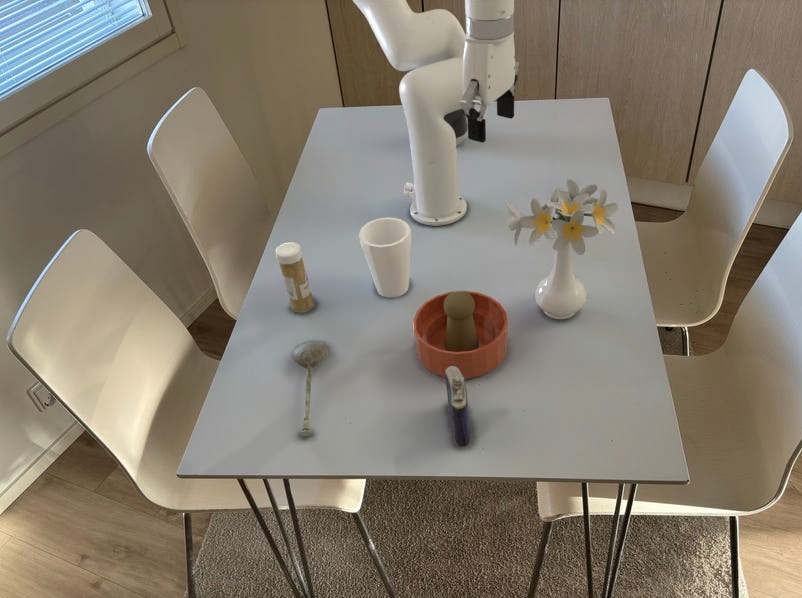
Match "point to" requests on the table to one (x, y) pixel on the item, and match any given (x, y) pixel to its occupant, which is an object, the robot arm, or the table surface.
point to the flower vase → (564, 242)
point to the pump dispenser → (457, 124)
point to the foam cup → (387, 254)
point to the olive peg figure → (460, 322)
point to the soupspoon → (309, 371)
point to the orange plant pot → (470, 363)
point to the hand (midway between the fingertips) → (491, 128)
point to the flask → (458, 405)
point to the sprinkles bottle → (295, 276)
